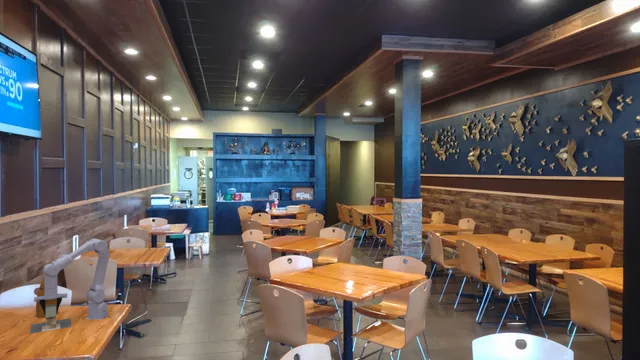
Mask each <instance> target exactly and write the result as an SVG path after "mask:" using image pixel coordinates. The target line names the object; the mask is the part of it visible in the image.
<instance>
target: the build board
mask: <svg viewBox="0 0 640 360" xmlns="http://www.w3.org/2000/svg"><path fill="white" fill-rule="evenodd" d="M71 327H72V319H71V318H65V319H64V318H63V319H56V328H53V329H47V330H46V321H44V322H39V323H38V322H36V323H31V324H30V330H29V334H31V335H32V334H36V333H43V332H49V331H55V330H62V329H66V328H67V329H68V328H71Z"/></svg>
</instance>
